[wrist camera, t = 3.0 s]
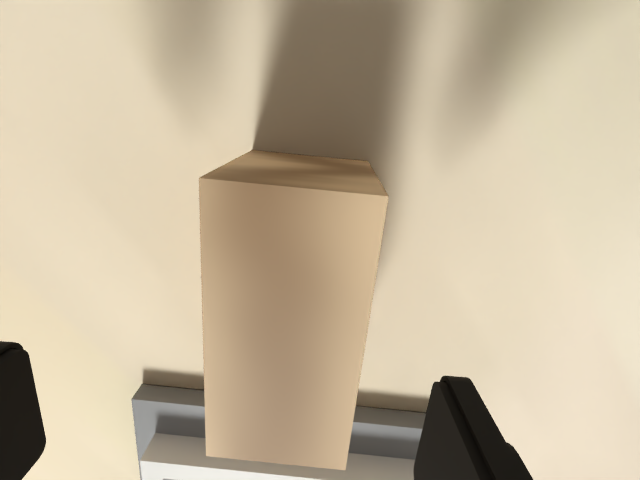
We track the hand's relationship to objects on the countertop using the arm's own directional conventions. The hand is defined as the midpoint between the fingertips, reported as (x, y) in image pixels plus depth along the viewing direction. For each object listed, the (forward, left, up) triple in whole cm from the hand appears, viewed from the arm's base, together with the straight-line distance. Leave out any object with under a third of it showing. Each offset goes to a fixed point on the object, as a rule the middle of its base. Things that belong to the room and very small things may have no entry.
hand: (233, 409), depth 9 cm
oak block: (-1, 0, -8) cm, 8 cm away
